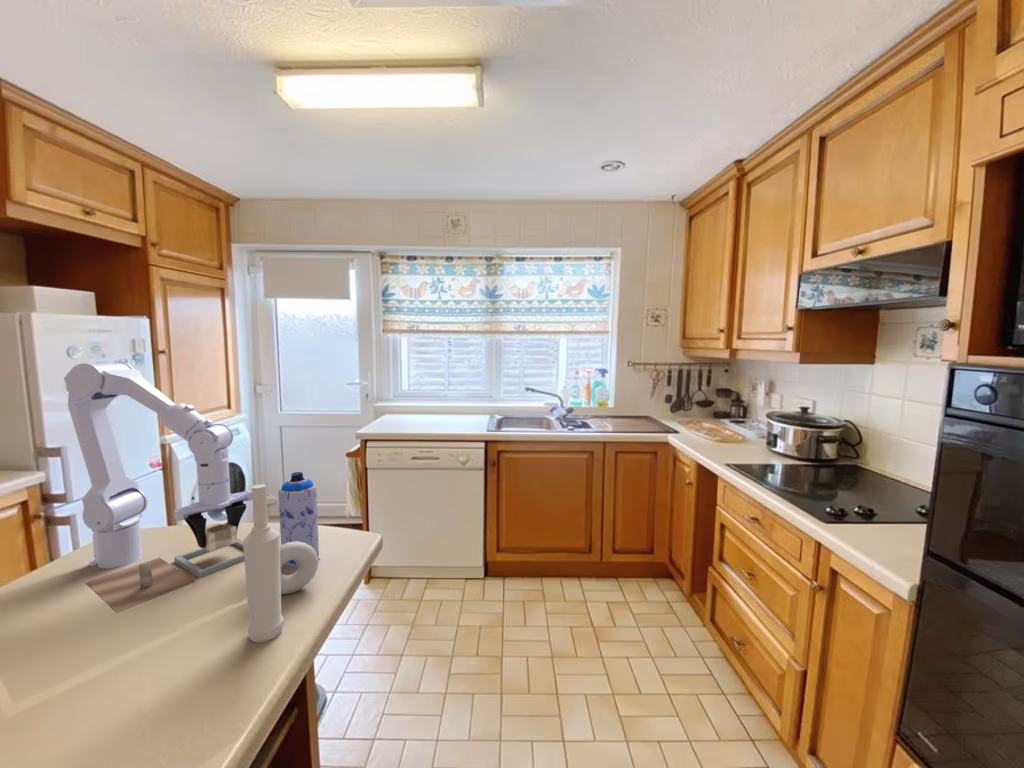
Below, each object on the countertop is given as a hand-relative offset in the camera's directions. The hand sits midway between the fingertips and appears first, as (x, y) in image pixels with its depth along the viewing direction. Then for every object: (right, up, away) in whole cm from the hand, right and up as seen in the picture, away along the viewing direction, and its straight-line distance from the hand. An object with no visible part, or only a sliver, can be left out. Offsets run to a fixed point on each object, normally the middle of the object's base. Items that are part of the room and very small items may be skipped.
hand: (217, 541), depth 95 cm
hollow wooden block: (0, -1, 0) cm, 1 cm away
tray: (0, -5, 0) cm, 5 cm away
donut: (+22, -6, -11) cm, 26 cm away
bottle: (+24, -7, -23) cm, 34 cm away
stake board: (-9, -6, -9) cm, 14 cm away
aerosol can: (+18, -5, +1) cm, 19 cm away
